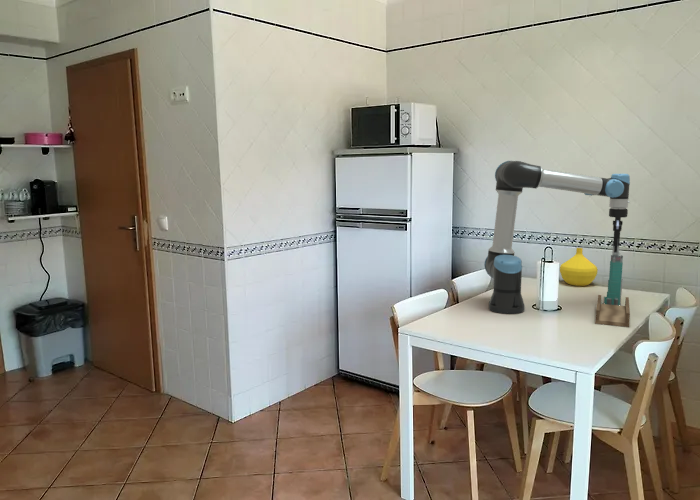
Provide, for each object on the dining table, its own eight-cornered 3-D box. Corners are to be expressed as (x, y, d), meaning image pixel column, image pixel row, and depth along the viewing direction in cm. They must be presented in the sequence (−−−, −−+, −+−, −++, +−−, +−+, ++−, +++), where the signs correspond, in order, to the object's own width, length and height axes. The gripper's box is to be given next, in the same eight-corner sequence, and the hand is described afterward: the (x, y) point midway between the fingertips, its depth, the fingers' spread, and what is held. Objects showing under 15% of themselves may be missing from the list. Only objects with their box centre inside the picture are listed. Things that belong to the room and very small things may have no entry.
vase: (563, 287, 281) (564, 250, 278) (556, 280, 299) (557, 245, 296) (601, 288, 278) (603, 251, 275) (591, 280, 296) (593, 245, 293)
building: (621, 307, 242) (626, 239, 238) (607, 306, 244) (611, 239, 239) (618, 303, 248) (622, 238, 244) (603, 303, 249) (607, 237, 245)
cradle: (595, 323, 218) (596, 310, 217) (597, 306, 243) (598, 294, 242) (628, 327, 213) (629, 313, 212) (627, 309, 238) (628, 297, 237)
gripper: (628, 209, 239) (624, 262, 243) (627, 207, 251) (624, 258, 255) (609, 209, 242) (605, 261, 246) (609, 206, 254) (606, 257, 258)
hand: (615, 259), depth 250 cm, fingers closed
